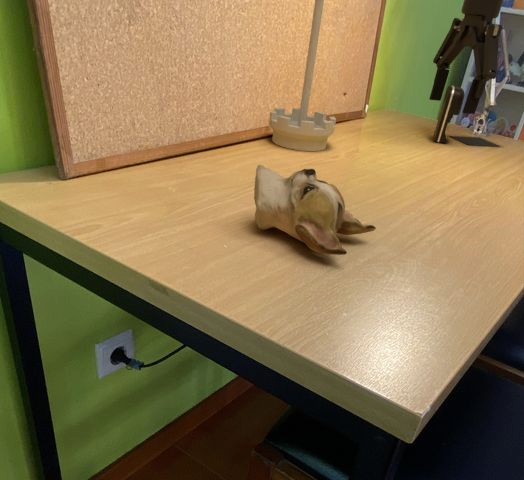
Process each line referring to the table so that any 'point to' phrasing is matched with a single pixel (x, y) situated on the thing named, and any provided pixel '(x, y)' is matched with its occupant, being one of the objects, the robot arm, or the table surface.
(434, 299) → the table surface
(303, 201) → the ceramic sculpture
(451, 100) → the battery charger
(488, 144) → the mat
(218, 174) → the table surface
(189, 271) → the table surface
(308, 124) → the flag stand
